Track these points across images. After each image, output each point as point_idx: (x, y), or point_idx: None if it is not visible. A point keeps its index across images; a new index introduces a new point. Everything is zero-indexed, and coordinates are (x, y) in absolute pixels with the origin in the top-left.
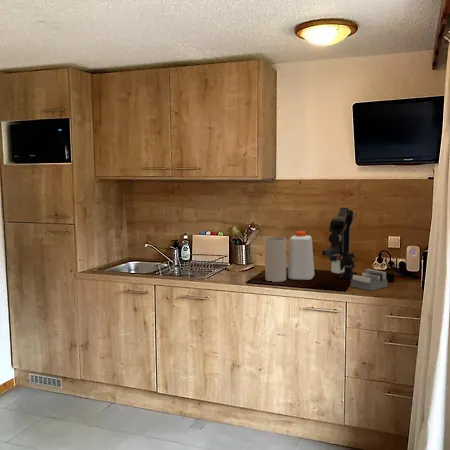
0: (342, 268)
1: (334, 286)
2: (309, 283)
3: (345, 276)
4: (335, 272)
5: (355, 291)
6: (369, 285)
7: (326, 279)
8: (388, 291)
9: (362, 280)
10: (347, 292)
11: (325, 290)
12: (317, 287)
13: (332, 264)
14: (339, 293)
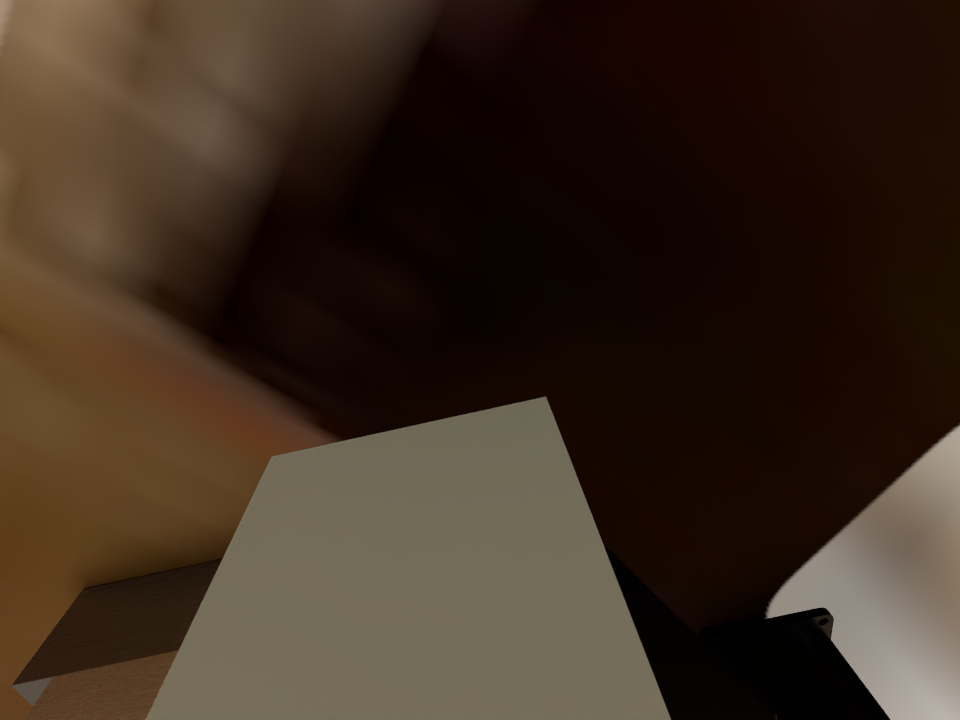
0: None
1: (508, 334)
2: (942, 71)
3: (749, 657)
4: (380, 440)
5: (102, 426)
6: (64, 645)
7: (885, 455)
8: (13, 702)
9: (163, 670)
10: (66, 292)
11: (334, 8)
12: (618, 13)
13: (547, 630)
14: (19, 121)
